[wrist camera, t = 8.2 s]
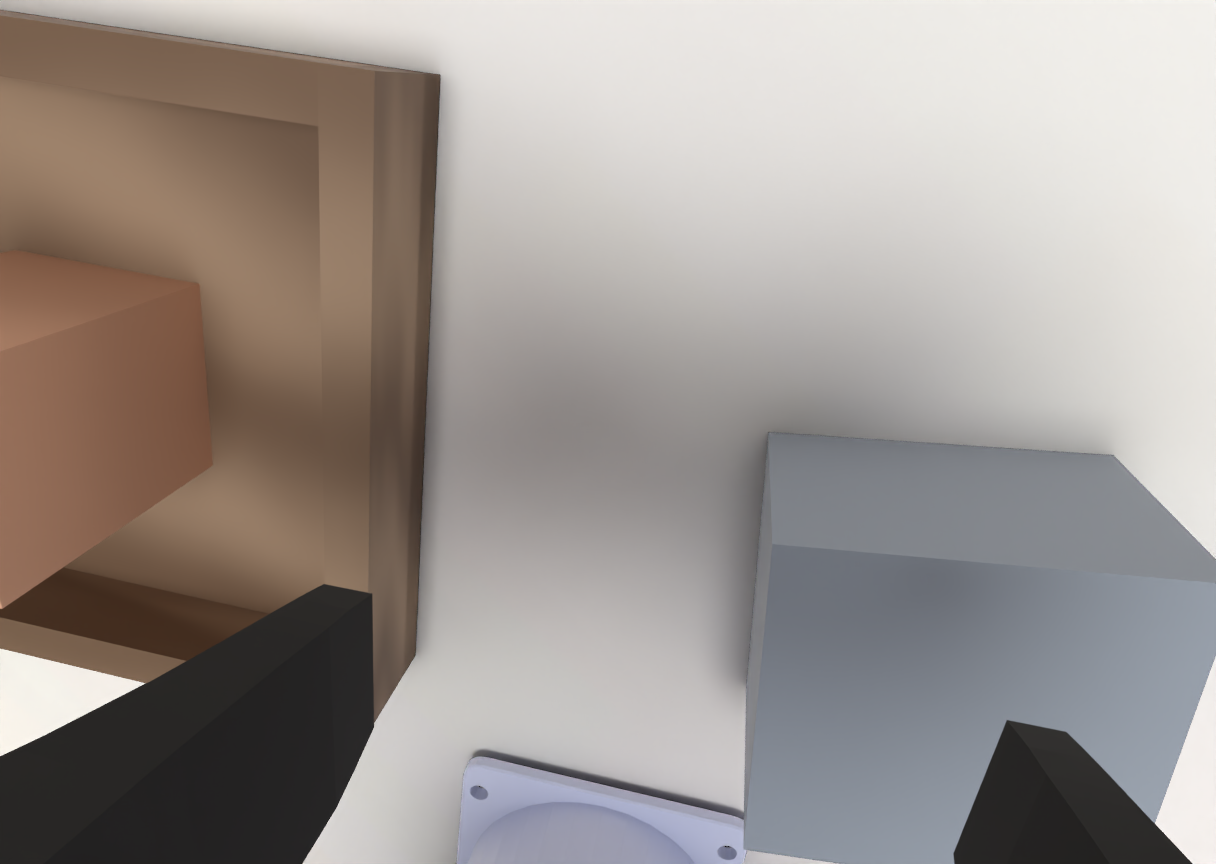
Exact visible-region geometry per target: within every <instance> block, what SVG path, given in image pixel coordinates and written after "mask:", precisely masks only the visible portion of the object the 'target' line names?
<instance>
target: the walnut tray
mask: <svg viewBox="0 0 1216 864" xmlns="http://www.w3.org/2000/svg"><path fill="white" fill-rule="evenodd" d="M439 89H440V75H438V74H431V73H424V72H417V71H411V70H404V69H397V68H390V67H384V66H377V65H370V64H363V63H357V62H350V61H343V60H336V59H329V58H323V57H316V56H309V55H302V54H296V53H289V52H282V51H275V50H269V49H262V48H255V47H248V46H241V45H235V44H228V43H221V42H214V41H208V40H201V39H194V38H187V37H181V36H174V35H167V34H160V33H153V32H147V31H140V30H133V29H126V28H120V27H113V26H106V25H99V24H93V23H86V22H79V21H72V20H66V19H59V18H52V17H45V16H38V15H32V14H25V13H18V12H11V11H5V10H0V253H3V252H7V251H12V250H19V251H24V252H30V253H35V254H40V255H46V256H51V257H57V258H62V259H68V260H73V261H78V262H84V263H89V264H95V265H100V266H106V267H111V268H117V269H122V270H127V271H133V272H138V273H144V274H149V275H155V276H160V277H165V278H171V279H176V280H182V281H187V282H193V283H198V284H200V297H201V311H202V324H203V338H204V351H205V365H206V378H207V392H208V406H209V419H210V433H211V446H212V460H213V466H211V467H210V468H208V469H207V470H205V471H204V472H202V473H201V474H200V475H198V476H197V477H195V478H194V479H192V480H191V481H189V482H188V483H186V484H185V485H183V486H182V487H180V488H179V489H178V490H176V491H175V492H173V493H172V494H170V495H169V496H167V497H166V498H164V499H163V500H161V501H160V502H158V503H157V504H155V505H154V506H153V507H151V508H150V509H148V510H147V511H145V512H144V513H142V514H141V515H139V516H138V517H136V518H135V519H133V520H132V521H131V522H129V523H128V524H126V525H125V526H123V527H122V528H120V529H119V530H117V531H116V532H114V533H113V534H111V535H110V536H109V537H107V538H106V539H104V540H103V541H101V542H100V543H98V544H97V545H95V546H94V547H92V548H91V549H89V550H88V551H86V552H85V553H84V554H82V555H81V556H79V557H78V558H76V559H75V560H73V561H72V562H70V563H69V564H67V565H66V566H64V567H63V568H62V569H60V570H59V571H57V572H56V573H54V574H53V575H51V576H50V577H48V578H47V579H45V580H44V581H42V582H41V583H40V584H38V585H37V586H35V587H34V588H32V589H31V590H29V591H28V592H26V593H25V594H23V595H22V596H20V597H19V598H17V599H16V600H15V601H13V602H12V603H10V604H9V605H7V606H6V607H4V608H3V609H0V648H1V649H5V650H9V651H14V652H18V653H22V654H26V655H30V656H34V657H39V658H43V659H47V660H51V661H55V662H60V663H64V664H68V665H72V666H76V667H81V668H85V669H89V670H93V671H97V672H101V673H106V674H110V675H114V676H118V677H122V678H127V679H131V680H135V681H139V682H143V683H148V682H150V681H152V680H153V679H155V678H157V677H159V676H161V675H163V674H164V673H166V672H168V671H170V670H171V669H173V668H175V667H177V666H179V665H180V664H182V663H184V662H186V661H188V660H189V659H191V658H193V657H195V656H196V655H198V654H200V653H202V652H204V651H205V650H207V649H209V648H211V647H212V646H214V645H216V644H218V643H220V642H221V641H223V640H225V639H227V638H228V637H230V636H232V635H234V634H235V633H237V632H239V631H241V630H242V629H244V628H246V627H248V626H249V625H251V624H253V623H255V622H256V621H258V620H260V619H261V618H263V617H265V616H267V615H268V614H270V613H272V612H274V611H275V610H277V609H279V608H281V607H282V606H284V605H286V604H288V603H289V602H291V601H293V600H295V599H297V598H298V597H300V596H302V595H304V594H306V593H307V592H309V591H311V590H313V589H315V588H317V587H319V586H321V585H323V584H327V585H332V586H337V587H342V588H347V589H352V590H357V591H362V592H367V593H372V601H373V683H374V722H375V721H376V719H377V717H378V716H379V714H380V713H381V711H382V709H383V708H384V706H385V704H386V703H387V701H388V699H389V698H390V696H391V694H392V693H393V691H394V690H395V688H396V686H397V685H398V683H399V681H400V680H401V678H402V676H403V675H404V673H405V672H406V670H407V668H408V667H409V665H410V663H411V662H412V660H413V658H414V657H415V650H416V627H417V603H418V580H419V557H420V533H421V510H422V486H423V463H424V440H425V416H426V393H427V370H428V346H429V323H430V300H431V276H432V253H433V229H434V206H435V183H436V159H437V136H438V113H439Z"/></svg>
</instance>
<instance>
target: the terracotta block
mask: <svg viewBox="0 0 1216 864" xmlns="http://www.w3.org/2000/svg"><path fill="white" fill-rule="evenodd" d="M211 466H213V460H212V446H211V433H210V419H209V406H208V392H207V378H206V365H205V351H204V338H203V324H202V311H201V297H200V284H198V283H193V282H187V281H182V280H176V279H171V278H165V277H160V276H155V275H149V274H144V273H138V272H133V271H127V270H122V269H117V268H111V267H106V266H100V265H95V264H89V263H84V262H78V261H73V260H68V259H62V258H57V257H51V256H46V255H40V254H35V253H30V252H24V251H19V250H12V251H7V252H3V253H0V609H3V608H4V607H6V606H7V605H9V604H10V603H12V602H13V601H15V600H16V599H17V598H19V597H20V596H22V595H23V594H25V593H26V592H28V591H29V590H31V589H32V588H34V587H35V586H37V585H38V584H40V583H41V582H42V581H44V580H45V579H47V578H48V577H50V576H51V575H53V574H54V573H56V572H57V571H59V570H60V569H62V568H63V567H64V566H66V565H67V564H69V563H70V562H72V561H73V560H75V559H76V558H78V557H79V556H81V555H82V554H84V553H85V552H86V551H88V550H89V549H91V548H92V547H94V546H95V545H97V544H98V543H100V542H101V541H103V540H104V539H106V538H107V537H109V536H110V535H111V534H113V533H114V532H116V531H117V530H119V529H120V528H122V527H123V526H125V525H126V524H128V523H129V522H131V521H132V520H133V519H135V518H136V517H138V516H139V515H141V514H142V513H144V512H145V511H147V510H148V509H150V508H151V507H153V506H154V505H155V504H157V503H158V502H160V501H161V500H163V499H164V498H166V497H167V496H169V495H170V494H172V493H173V492H175V491H176V490H178V489H179V488H180V487H182V486H183V485H185V484H186V483H188V482H189V481H191V480H192V479H194V478H195V477H197V476H198V475H200V474H201V473H202V472H204V471H205V470H207V469H208V468H210V467H211Z"/></svg>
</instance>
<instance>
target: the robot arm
mask: <svg viewBox="0 0 1216 864" xmlns="http://www.w3.org/2000/svg"><path fill="white" fill-rule="evenodd" d="M373 728H374V683H373V601H372V593H367V592H362V591H357V590H352V589H347V588H342V587H337V586H332V585H327V584H323V585H321V586H319V587H317V588H315V589H313V590H311V591H309V592H307V593H306V594H304V595H302V596H300V597H298V598H297V599H295V600H293V601H291V602H289V603H288V604H286V605H284V606H282V607H281V608H279V609H277V610H275V611H274V612H272V613H270V614H268V615H267V616H265V617H263V618H261V619H260V620H258V621H256V622H255V623H253V624H251V625H249V626H248V627H246V628H244V629H242V630H241V631H239V632H237V633H235V634H234V635H232V636H230V637H228V638H227V639H225V640H223V641H221V642H220V643H218V644H216V645H214V646H212V647H211V648H209V649H207V650H205V651H204V652H202V653H200V654H198V655H196V656H195V657H193V658H191V659H189V660H188V661H186V662H184V663H182V664H180V665H179V666H177V667H175V668H173V669H171V670H170V671H168V672H166V673H164V674H163V675H161V676H159V677H157V678H155V679H153V680H152V681H150V682H148V683H146V684H144V685H142V686H140V687H138V688H136V689H134V690H132V691H130V692H128V693H126V694H125V695H123V696H121V697H119V698H117V699H115V700H113V701H111V702H109V703H107V704H105V705H103V706H101V707H99V708H97V709H95V710H93V711H91V712H89V713H88V714H86V715H84V716H82V717H80V718H78V719H76V720H74V721H72V722H70V723H68V724H66V725H64V726H62V727H60V728H58V729H56V730H54V731H52V732H51V733H49V734H47V735H45V736H43V737H40V738H38V739H36V740H34V741H32V742H30V743H28V744H26V745H24V746H22V747H19V748H17V749H15V750H13V751H11V752H9V753H7V754H4V755H2V756H0V864H302V863H303V862H304V860H305V858H306V857H307V855H308V853H309V852H310V850H311V849H312V847H313V845H314V844H315V842H316V840H317V839H318V837H319V835H320V834H321V832H322V831H323V829H324V827H325V826H326V824H327V822H328V821H329V819H330V817H331V816H332V814H333V812H334V811H335V809H336V807H337V805H338V803H339V801H340V799H341V797H342V795H343V793H344V791H345V789H346V787H347V785H348V782H349V780H350V778H351V776H352V774H353V772H354V770H355V768H356V766H357V763H358V761H359V759H360V757H361V755H362V752H363V750H364V748H365V746H366V744H367V741H368V739H369V737H370V735H371V733H372V730H373ZM478 786H481V787H484V788H485V789H483V788H480V787H478ZM743 844H744V821H743V820H742V819H741V818H738V817H736V816H732V815H728V814H724V813H720V812H715V811H711V810H707V809H703V808H699V807H694V806H690V805H686V804H682V803H678V802H673V801H669V800H665V799H661V798H657V797H652V796H648V795H644V794H640V793H636V792H631V791H627V790H623V789H619V788H615V787H610V786H606V785H602V784H598V783H594V782H589V781H585V780H581V779H577V778H573V777H568V776H564V775H560V774H556V773H551V772H547V771H543V770H539V769H535V768H530V767H526V766H522V765H518V764H514V763H509V762H505V761H501V760H497V759H493V758H488V757H481V756H478V757H474V758H472V759H471V760H470V761H469V762H468V764H467V766H466V769H465V771H464V774H463V786H462V799H461V812H460V824H459V837H458V850H457V862H456V864H743V863H744V859H745V856H746V852H747V850H744V849H743ZM724 846H730V847H731V848H728V847H724ZM953 856H954V864H1192V863H1191V862H1190V861H1189V860H1188V859H1187V857H1186V856H1185V855H1184V854H1183V853H1182V852H1181V851H1180V850H1179V849H1178V848H1177V847H1176V846H1175V845H1174V844H1173V843H1172V842H1171V840H1170V839H1169V838H1168V837H1167V836H1166V835H1165V834H1164V833H1163V832H1162V831H1161V830H1160V829H1159V828H1158V827H1157V826H1156V824H1155V823H1154V822H1153V821H1152V820H1151V819H1150V818H1149V817H1148V816H1147V815H1146V814H1145V813H1144V812H1143V811H1142V810H1141V808H1140V807H1139V806H1138V805H1137V804H1136V803H1135V802H1134V801H1133V800H1132V799H1131V798H1130V797H1129V796H1128V795H1127V794H1126V792H1125V791H1124V790H1123V789H1122V788H1121V787H1120V786H1119V785H1118V784H1117V783H1116V782H1115V781H1114V780H1113V779H1112V778H1111V777H1110V775H1109V774H1108V773H1107V772H1106V771H1105V770H1104V769H1103V768H1102V767H1101V766H1100V765H1099V764H1098V763H1097V762H1096V761H1095V760H1094V759H1093V758H1092V757H1091V756H1090V755H1089V754H1088V753H1087V752H1086V751H1085V750H1084V749H1083V748H1082V747H1081V746H1080V745H1079V744H1078V743H1077V742H1076V741H1075V740H1074V739H1073V738H1072V737H1071V736H1070V735H1069V734H1068V733H1067V732H1065V731H1060V730H1055V729H1050V728H1045V727H1040V726H1035V725H1030V724H1025V723H1020V722H1015V721H1010V720H1007V721H1006V723H1005V726H1004V728H1003V731H1002V733H1001V736H1000V738H999V741H998V743H997V746H996V748H995V751H994V753H993V756H992V758H991V761H990V763H989V766H988V768H987V771H986V773H985V776H984V778H983V781H982V783H981V786H980V788H979V791H978V793H977V796H976V798H975V801H974V803H973V806H972V808H971V811H970V813H969V816H968V818H967V821H966V823H965V826H964V828H963V831H962V833H961V836H960V838H959V841H958V843H957V846H956V848H955V851H954V853H953Z"/></svg>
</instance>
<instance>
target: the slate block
mask: <svg viewBox="0 0 1216 864" xmlns="http://www.w3.org/2000/svg"><path fill="white" fill-rule="evenodd" d="M1215 656H1216V559H1215V558H1214V557H1213V556H1212V555H1211V554H1210V553H1209V552H1208V551H1207V550H1206V549H1205V548H1204V547H1203V546H1202V545H1201V544H1200V543H1199V542H1198V541H1197V540H1196V539H1195V538H1194V537H1193V536H1192V535H1191V534H1190V533H1189V532H1188V531H1187V530H1186V529H1185V528H1184V527H1183V526H1182V525H1181V524H1180V523H1179V522H1178V521H1177V519H1176V518H1175V517H1174V516H1173V515H1172V514H1171V513H1170V512H1169V511H1168V510H1167V509H1166V508H1165V507H1164V506H1163V505H1162V504H1161V503H1160V502H1159V501H1158V500H1157V499H1156V498H1155V497H1154V496H1153V495H1152V494H1151V493H1150V492H1149V491H1148V490H1147V489H1146V488H1145V487H1144V486H1143V485H1142V484H1141V483H1140V482H1139V481H1138V480H1137V479H1136V478H1135V477H1134V476H1133V475H1132V474H1131V473H1130V472H1129V471H1128V470H1127V469H1126V468H1125V467H1124V466H1123V465H1122V464H1121V463H1120V462H1119V461H1118V460H1117V459H1116V458H1115V457H1114V456H1113V455H1101V454H1087V453H1072V452H1057V451H1042V450H1027V449H1012V448H997V447H983V446H968V445H953V444H938V443H923V442H908V441H893V440H879V439H864V438H849V437H834V436H819V435H804V434H789V433H774V432H768V444H767V455H766V467H765V478H764V490H763V501H762V512H761V524H760V535H759V547H758V558H757V570H756V581H755V593H754V604H753V616H752V627H751V639H750V650H749V662H748V673H747V685H746V732H745V788H744V844H743V849H744V850H750V851H757V852H764V853H771V854H778V855H785V856H792V857H798V858H805V859H812V860H819V861H826V862H833V863H840V864H954V856H953V853H954V851H955V848H956V846H957V843H958V841H959V838H960V836H961V833H962V831H963V828H964V826H965V823H966V821H967V818H968V816H969V813H970V811H971V808H972V806H973V803H974V801H975V798H976V796H977V793H978V791H979V788H980V786H981V783H982V781H983V778H984V776H985V773H986V771H987V768H988V766H989V763H990V761H991V758H992V756H993V753H994V751H995V748H996V746H997V743H998V741H999V738H1000V736H1001V733H1002V731H1003V728H1004V726H1005V723H1006V721H1007V720H1010V721H1015V722H1020V723H1025V724H1030V725H1035V726H1040V727H1045V728H1050V729H1055V730H1060V731H1065V732H1067V733H1068V734H1069V735H1070V736H1071V737H1072V738H1073V739H1074V740H1075V741H1076V742H1077V743H1078V744H1079V745H1080V746H1081V747H1082V748H1083V749H1084V750H1085V751H1086V752H1087V753H1088V754H1089V755H1090V756H1091V757H1092V758H1093V759H1094V760H1095V761H1096V762H1097V763H1098V764H1099V765H1100V766H1101V767H1102V768H1103V769H1104V770H1105V771H1106V772H1107V773H1108V774H1109V775H1110V777H1111V778H1112V779H1113V780H1114V781H1115V782H1116V783H1117V784H1118V785H1119V786H1120V787H1121V788H1122V789H1123V790H1124V791H1125V792H1126V794H1127V795H1128V796H1129V797H1130V798H1131V799H1132V800H1133V801H1134V802H1135V803H1136V804H1137V805H1138V806H1139V807H1140V808H1141V810H1142V811H1143V812H1144V813H1145V814H1146V815H1147V816H1148V817H1149V818H1150V819H1151V820H1152V821H1153V822H1154V823H1155V821H1156V819H1157V816H1158V813H1159V810H1160V808H1161V805H1162V802H1163V799H1164V797H1165V794H1166V791H1167V788H1168V786H1169V783H1170V780H1171V777H1172V775H1173V772H1174V769H1175V766H1176V764H1177V761H1178V758H1179V755H1180V753H1181V750H1182V747H1183V744H1184V742H1185V739H1186V736H1187V733H1188V731H1189V728H1190V725H1191V722H1192V720H1193V717H1194V714H1195V711H1196V708H1197V706H1198V703H1199V700H1200V697H1201V695H1202V692H1203V689H1204V686H1205V684H1206V681H1207V678H1208V675H1209V673H1210V670H1211V667H1212V664H1213V662H1214V659H1215Z"/></svg>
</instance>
